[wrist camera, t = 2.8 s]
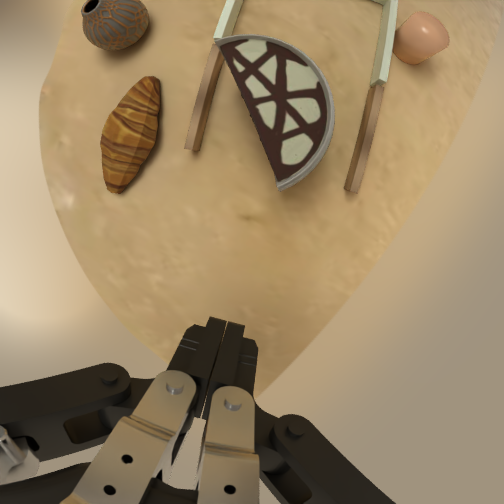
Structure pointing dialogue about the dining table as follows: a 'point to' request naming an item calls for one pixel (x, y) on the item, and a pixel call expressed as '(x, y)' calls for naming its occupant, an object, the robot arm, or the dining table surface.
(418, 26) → the tan rounded piece
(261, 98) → the food container
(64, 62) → the dining table surface
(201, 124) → the brown flat strips
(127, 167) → the croissant
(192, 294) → the dining table surface
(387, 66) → the bay
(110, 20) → the vase
